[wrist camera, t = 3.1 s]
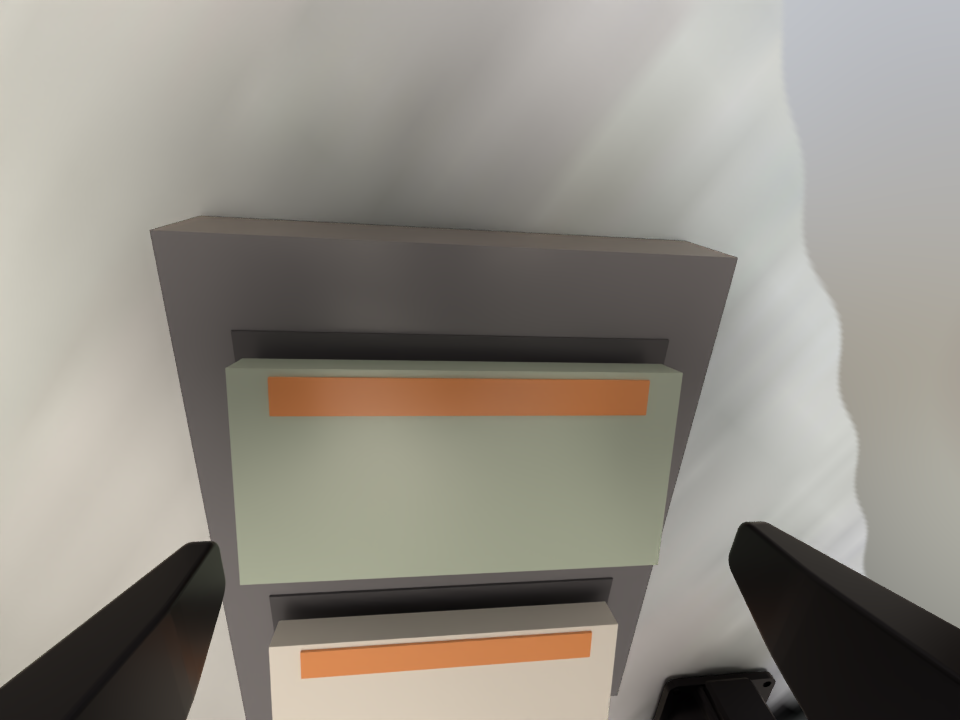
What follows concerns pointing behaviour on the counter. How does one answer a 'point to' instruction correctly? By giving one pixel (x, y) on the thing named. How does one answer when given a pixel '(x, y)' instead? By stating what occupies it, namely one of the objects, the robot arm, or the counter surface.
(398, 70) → the counter surface
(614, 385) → the green rocker
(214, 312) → the rocker switch panel
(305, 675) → the plate
